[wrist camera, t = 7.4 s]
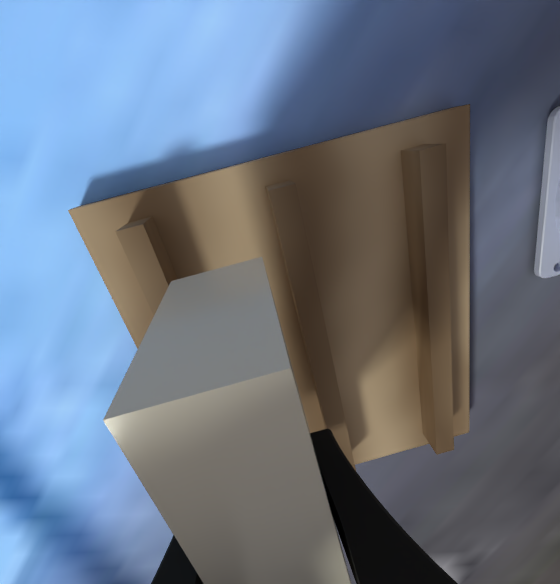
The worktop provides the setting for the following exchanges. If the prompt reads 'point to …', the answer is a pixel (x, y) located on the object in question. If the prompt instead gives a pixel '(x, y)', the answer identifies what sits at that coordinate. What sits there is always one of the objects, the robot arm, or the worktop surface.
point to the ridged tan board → (327, 270)
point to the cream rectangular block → (227, 435)
